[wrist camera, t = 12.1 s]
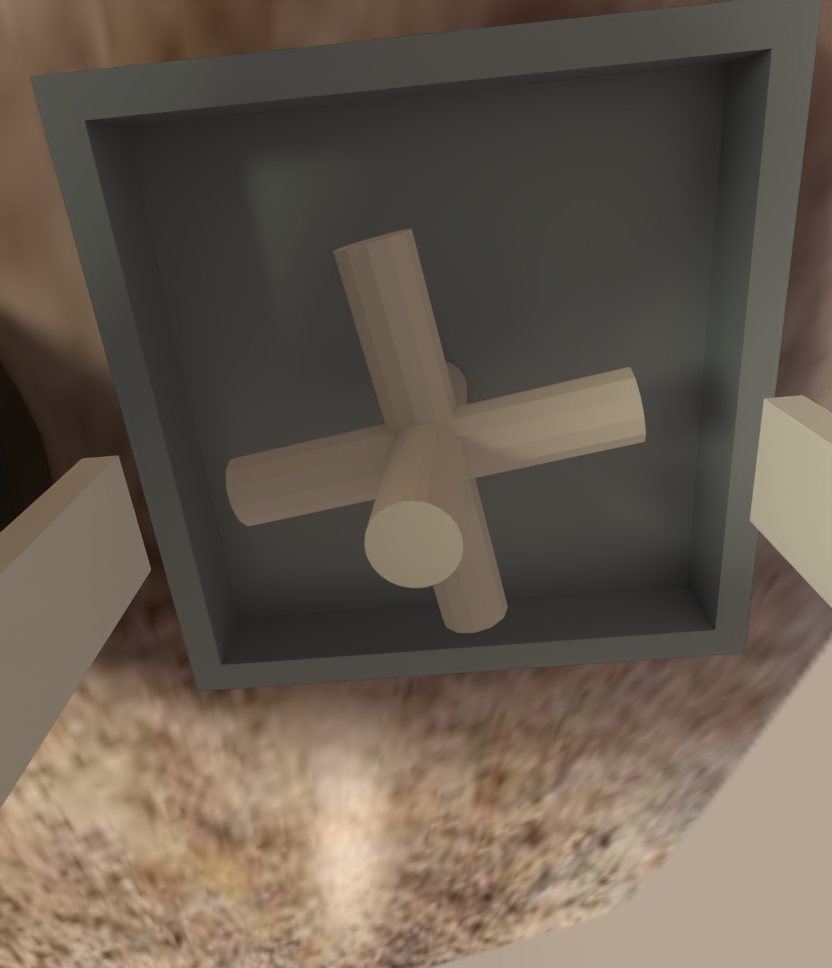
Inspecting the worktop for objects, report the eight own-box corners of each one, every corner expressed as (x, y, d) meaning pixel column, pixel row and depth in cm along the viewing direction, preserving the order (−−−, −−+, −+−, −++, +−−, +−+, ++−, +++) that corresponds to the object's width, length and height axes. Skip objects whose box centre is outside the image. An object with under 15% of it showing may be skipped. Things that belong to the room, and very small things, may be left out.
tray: (223, 630, 27) (197, 691, 24) (92, 90, 20) (30, 76, 16) (705, 595, 26) (744, 652, 23) (756, 19, 19) (823, -9, 16)
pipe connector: (624, 497, 23) (723, 713, 14) (335, 555, 25) (255, 782, 16) (570, 173, 19) (657, 181, 10) (233, 268, 21) (50, 348, 12)
